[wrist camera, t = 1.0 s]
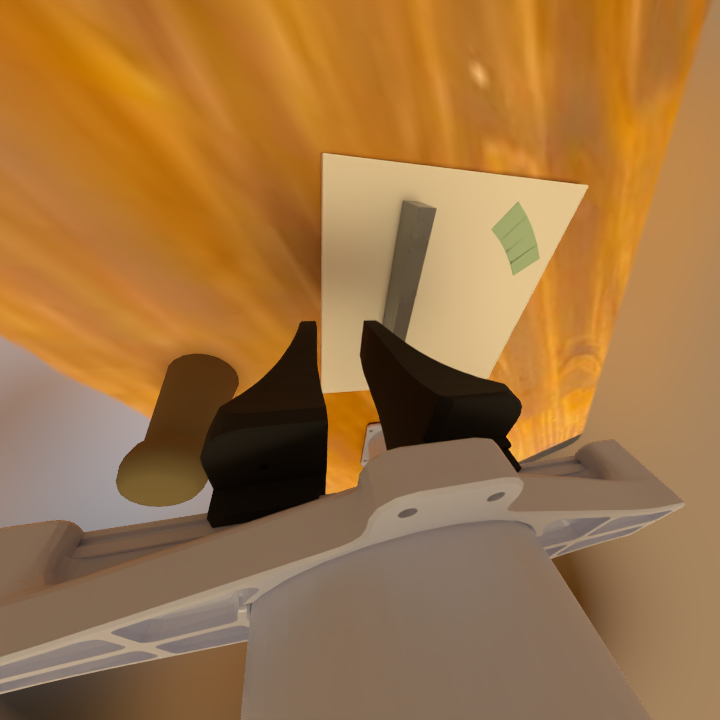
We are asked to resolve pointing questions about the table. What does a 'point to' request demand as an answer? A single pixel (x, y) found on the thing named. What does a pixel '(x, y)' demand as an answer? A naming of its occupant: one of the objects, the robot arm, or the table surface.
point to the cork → (177, 433)
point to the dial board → (433, 258)
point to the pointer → (407, 265)
